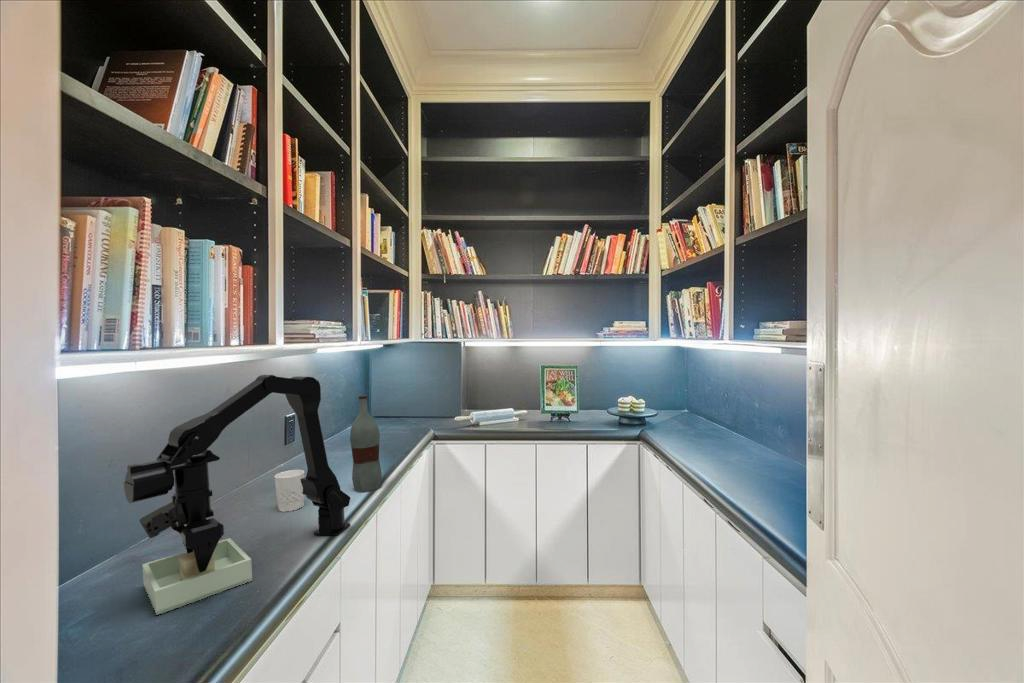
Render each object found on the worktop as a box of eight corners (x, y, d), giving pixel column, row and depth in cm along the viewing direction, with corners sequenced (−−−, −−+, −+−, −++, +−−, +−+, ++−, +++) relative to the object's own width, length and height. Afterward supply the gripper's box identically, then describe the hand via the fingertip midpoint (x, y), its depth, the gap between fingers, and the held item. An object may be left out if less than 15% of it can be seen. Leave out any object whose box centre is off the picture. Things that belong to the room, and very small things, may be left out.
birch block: (209, 570, 98) (208, 547, 98) (215, 579, 95) (214, 554, 95) (180, 580, 95) (179, 556, 95) (185, 589, 91) (184, 563, 91)
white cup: (311, 506, 137) (309, 472, 137) (283, 515, 131) (281, 479, 131) (299, 501, 142) (297, 468, 142) (271, 509, 137) (269, 474, 136)
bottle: (367, 482, 158) (362, 393, 158) (388, 484, 154) (383, 393, 154) (346, 491, 150) (341, 397, 149) (368, 494, 146) (362, 397, 145)
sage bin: (231, 557, 106) (229, 538, 106) (252, 581, 95) (251, 559, 95) (143, 586, 95) (142, 564, 95) (156, 616, 84) (155, 591, 84)
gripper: (135, 488, 96) (140, 564, 96) (149, 509, 82) (155, 598, 83) (199, 475, 103) (204, 545, 104) (222, 492, 90) (227, 573, 90)
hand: (197, 564), depth 95 cm, fingers open, 9 cm apart
